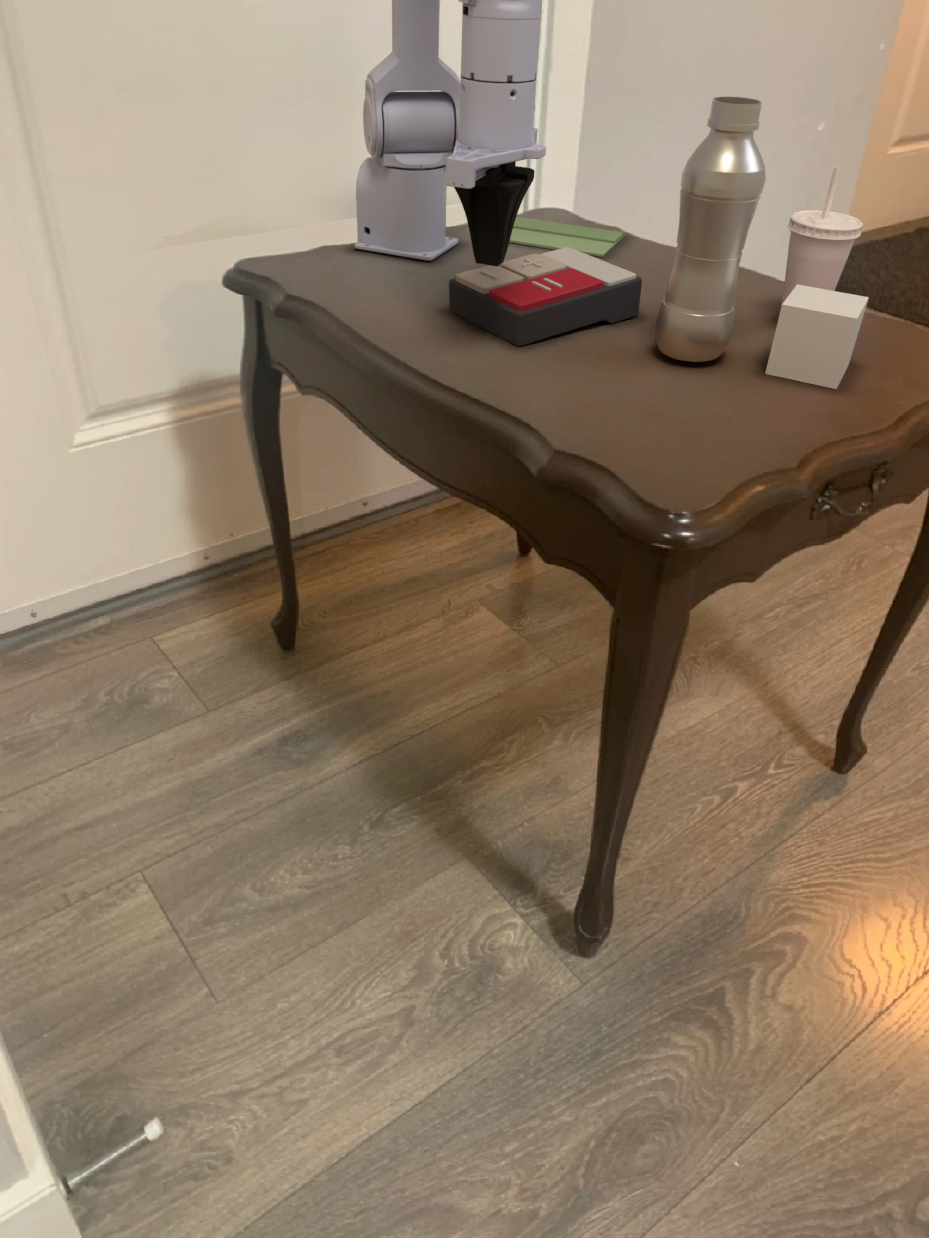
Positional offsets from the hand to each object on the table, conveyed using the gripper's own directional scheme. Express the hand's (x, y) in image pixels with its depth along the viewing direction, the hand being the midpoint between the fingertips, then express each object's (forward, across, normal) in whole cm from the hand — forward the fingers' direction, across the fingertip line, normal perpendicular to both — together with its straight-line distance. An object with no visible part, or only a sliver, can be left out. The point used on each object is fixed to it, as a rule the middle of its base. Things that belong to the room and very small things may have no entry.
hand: (489, 262), depth 78 cm
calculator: (+7, +10, -2) cm, 13 cm away
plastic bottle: (+7, +6, -17) cm, 19 cm away
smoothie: (+7, +19, -25) cm, 32 cm away
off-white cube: (+7, +8, -27) cm, 29 cm away
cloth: (+7, +35, +5) cm, 36 cm away
